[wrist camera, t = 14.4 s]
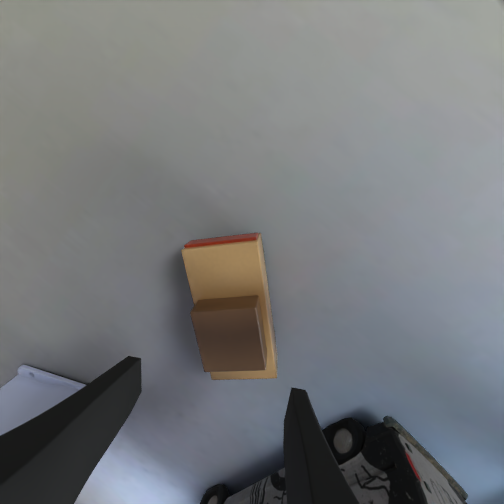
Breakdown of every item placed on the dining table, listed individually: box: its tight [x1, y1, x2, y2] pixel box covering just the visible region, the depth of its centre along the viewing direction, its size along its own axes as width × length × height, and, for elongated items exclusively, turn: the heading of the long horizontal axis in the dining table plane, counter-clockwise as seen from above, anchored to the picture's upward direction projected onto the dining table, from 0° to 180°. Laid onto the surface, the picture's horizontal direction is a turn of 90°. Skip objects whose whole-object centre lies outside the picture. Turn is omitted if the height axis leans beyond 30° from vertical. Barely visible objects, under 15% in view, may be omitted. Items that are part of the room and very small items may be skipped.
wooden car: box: [181, 233, 277, 380], centre depth 17 cm, size 10×5×5 cm, turn 8°
